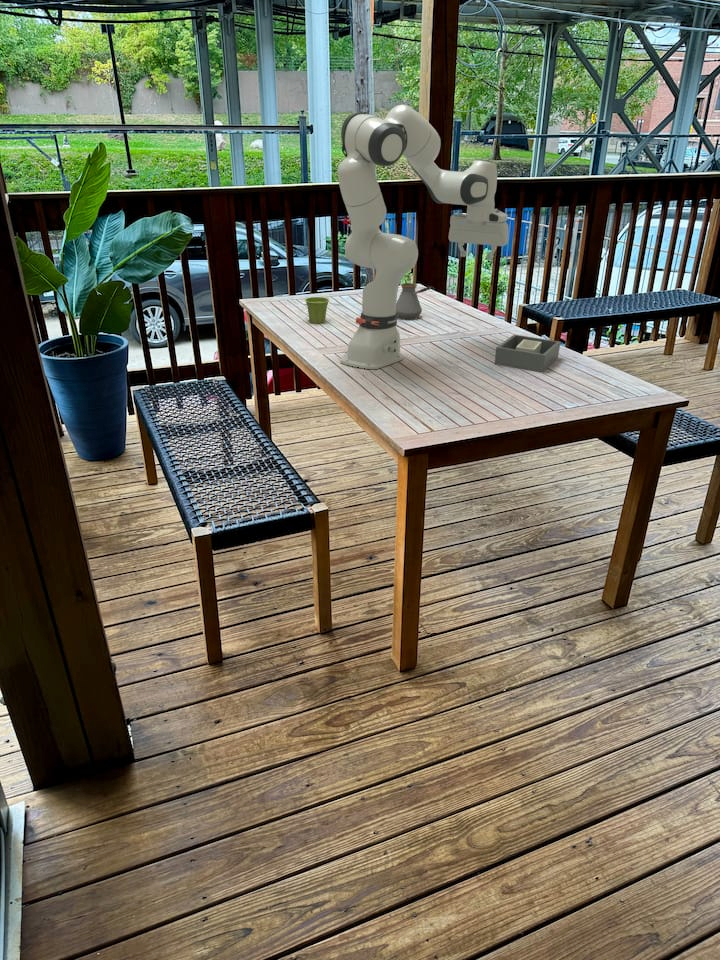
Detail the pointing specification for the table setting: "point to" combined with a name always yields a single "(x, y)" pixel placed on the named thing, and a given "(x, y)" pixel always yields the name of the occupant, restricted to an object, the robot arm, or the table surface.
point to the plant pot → (317, 309)
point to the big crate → (527, 354)
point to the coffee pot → (409, 301)
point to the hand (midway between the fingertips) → (476, 257)
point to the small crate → (529, 346)
